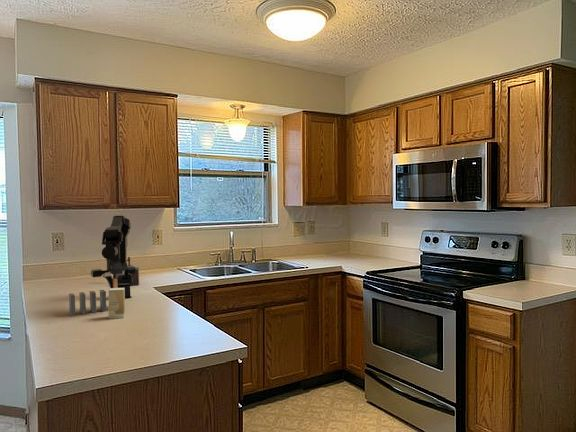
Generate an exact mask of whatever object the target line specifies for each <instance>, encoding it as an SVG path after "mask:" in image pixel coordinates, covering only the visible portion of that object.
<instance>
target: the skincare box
mask: <svg viewBox="0 0 576 432" xmlns="http://www.w3.org/2000/svg"><path fill="white" fill-rule="evenodd" d="M125 299H126V298H125V288H110V287H109V289H108V319H120V318H121V319H122V318H125V316H126V314H125V312H126V308H125V307H126V305H125V302H126V300H125Z"/></svg>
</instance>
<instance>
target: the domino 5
mask: <svg viewBox="0 0 576 432" xmlns="http://www.w3.org/2000/svg"><path fill="white" fill-rule="evenodd" d="M112 285H113V288H118V283H117V279H116V278H113V277H112Z"/></svg>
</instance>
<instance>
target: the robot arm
mask: <svg viewBox="0 0 576 432" xmlns="http://www.w3.org/2000/svg"><path fill="white" fill-rule="evenodd" d="M112 217H113V218H112V221H111V224H110V226H108V227H106V228H105V229H104V231H103V232H102V238H101V239H102V240H101V245H103V246H104V245H105V246H104V247H103V248H102V249H101V256H102V257H103V258H104V259H106V269H105V270H104V269H101V268H95V269H91V270H90V276H91V277H92V278H101V277H103V278H104V279H106V281H107V283H108V285H109V289H110V288H113V285H112V278H116V279H117V283H118V288H125V299H129V298H130V299H131V298H132V296H131V287H132V286H131V285H133V278H132V276H131V273H136V268H135V267H136V266H134V265H132V266H127V265H128V263H127V262H128V261H127V260H128V257H127V255H128V254H127V247H128V246H127V238H128V235H129V234H130V232H131V231H130V230H131V228H132V223H131V220H130V219H129V218H127V217H125V216H124V215H121V214H120V215H114V216H112ZM133 266H134V267H133ZM129 282H130V283H129ZM122 283H123V284H122Z"/></svg>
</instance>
